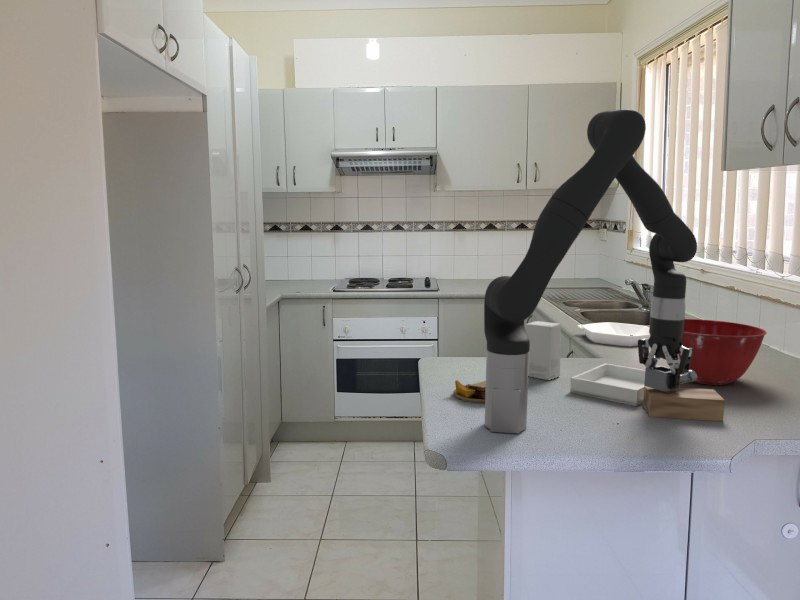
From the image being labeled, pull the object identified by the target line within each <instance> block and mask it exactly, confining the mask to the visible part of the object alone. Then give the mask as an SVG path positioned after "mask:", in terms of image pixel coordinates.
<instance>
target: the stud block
mask: <svg viewBox="0 0 800 600" xmlns="http://www.w3.org/2000/svg"><path fill="white" fill-rule="evenodd" d="M725 402H726V401H725V399H724V398H723V397H722V396H721V395H720V394H719V393H718V392H717V391H716V390H715V389H713V388H711V389H710V388H693V387H679V389H674V390H669V391H661V390H658V389H654V388H650V387H647V386H644V399H643V403H642V406H643V408H644V409H645V411H646V412H647V414H648V416H649V417H651V418H665V419H666V418H670V419H680V420H681V419H683V420H696V421H697V420H700V421H715V422H723V421H724V414H725V405H726V403H725Z"/></svg>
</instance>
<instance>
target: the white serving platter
mask: <svg viewBox="0 0 800 600" xmlns="http://www.w3.org/2000/svg"><path fill="white" fill-rule="evenodd" d="M577 327H578V328H579V329H581V330H583V332H584V334H585V336H586V338H587V339H588V340H590V341H591V342H594V343H595V344H602V345H603V344H605V345H610V346H621V347H638V340H639V339H649V338H650V334H649V326H646V325H641V324H640V325H639V324H632V323H631V324H630V323H622V322H621V323H620V322H610V321H609V322H607V321H606V322H604V321H603V322H595V323H594V322H593V323H586V324H577ZM630 335H633V336H630Z"/></svg>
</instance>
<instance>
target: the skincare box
mask: <svg viewBox="0 0 800 600" xmlns="http://www.w3.org/2000/svg"><path fill="white" fill-rule="evenodd" d="M524 327H525V331H526V334H527V336H528V338H529V340H530V351H529V375H528V376H529V377H528V378H533V377H534V378H535V379H538V380H539V379H540V380H545V381H551V379H552V380H554V378H555V379H557V377H558V378H559V376H560V377H561V347H562V346H561V344H562V343H561V342H562V341H561V337H562V335H561V333H562V330H561V329H562V324H561V323H557V322H547V321H540V320H539V321H538V320H535V321H532V322H528V323H524Z"/></svg>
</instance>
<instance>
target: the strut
mask: <svg viewBox="0 0 800 600" xmlns="http://www.w3.org/2000/svg"><path fill="white" fill-rule="evenodd" d="M644 370H645V382H644V386H647V387H650V388H654V389H658V390H661V391H669V390H672V389H670V388H669V387H670V375H671V374H672V373H671V370H670V367H668V366H664V365H656V366H654V367H648V368H646V367H645V369H644ZM696 380H697V374H696V372H695V371H693V370H689V371H688V372H685V373H684V374H680V384H679V387H677V389H679V388H681V387H680V385H683V384H686V383H694V382H693V381H696Z"/></svg>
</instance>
